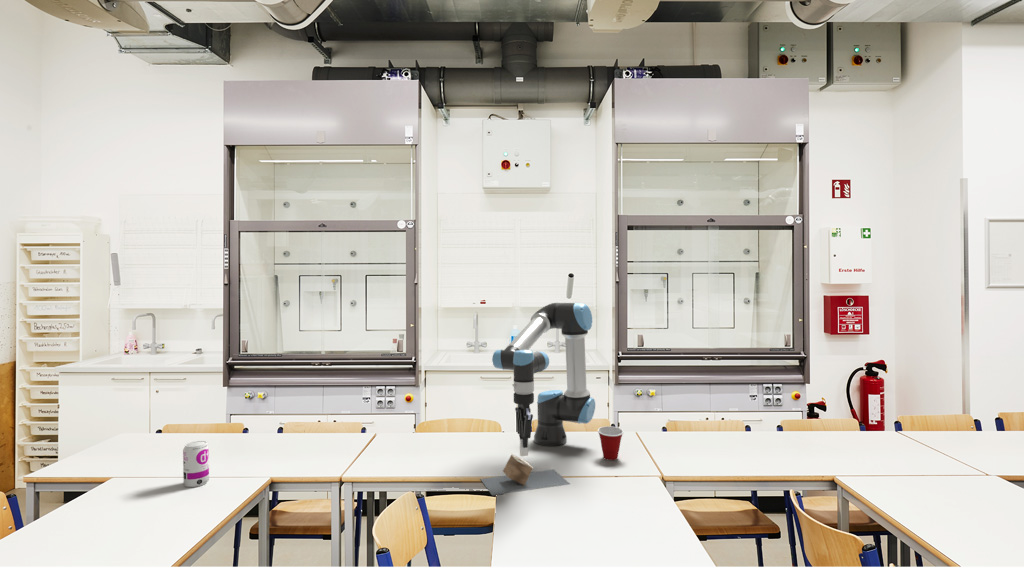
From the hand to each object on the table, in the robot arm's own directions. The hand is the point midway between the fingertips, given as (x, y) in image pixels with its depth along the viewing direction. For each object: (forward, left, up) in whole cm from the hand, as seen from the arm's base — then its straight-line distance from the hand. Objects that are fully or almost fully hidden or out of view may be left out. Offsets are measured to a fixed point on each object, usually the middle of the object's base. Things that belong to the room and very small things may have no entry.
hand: (524, 455), depth 203 cm
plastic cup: (-43, -13, -10) cm, 46 cm away
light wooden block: (+1, 0, -2) cm, 2 cm away
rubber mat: (0, 0, -10) cm, 10 cm away
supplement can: (+116, -39, -10) cm, 123 cm away
